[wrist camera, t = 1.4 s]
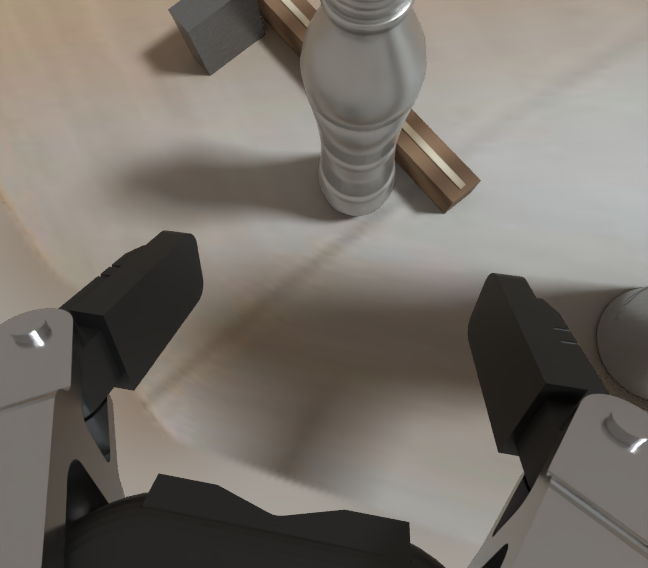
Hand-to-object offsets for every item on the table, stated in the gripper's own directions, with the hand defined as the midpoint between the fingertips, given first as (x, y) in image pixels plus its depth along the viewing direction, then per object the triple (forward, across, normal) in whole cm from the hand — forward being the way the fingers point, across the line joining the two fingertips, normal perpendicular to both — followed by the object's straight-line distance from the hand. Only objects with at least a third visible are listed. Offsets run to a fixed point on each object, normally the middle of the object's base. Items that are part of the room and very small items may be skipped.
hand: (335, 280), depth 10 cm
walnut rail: (+30, -2, +1) cm, 30 cm away
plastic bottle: (+23, 0, -6) cm, 24 cm away
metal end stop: (+33, -15, +4) cm, 36 cm away
